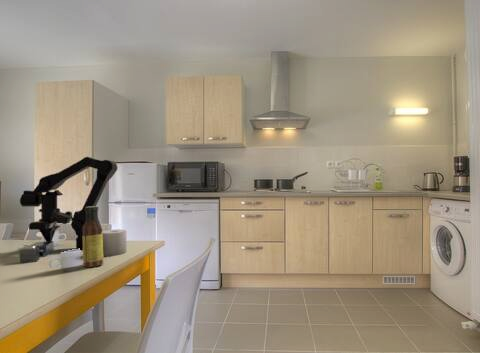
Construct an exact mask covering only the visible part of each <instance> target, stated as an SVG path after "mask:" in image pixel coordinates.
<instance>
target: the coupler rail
mask: <svg viewBox="0 0 480 353" xmlns="http://www.w3.org/2000/svg"><path fill="white" fill-rule="evenodd" d="M31 245H32V244H31ZM19 250H20V251H19V263H22V264H23V263H35V262H36V263H37V262H38V261H39V260H40V257H41V256H43V250H40V252H39V248H37V246H35V245H32V246H30V245H25V246H23V247H22V249H19Z"/></svg>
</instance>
